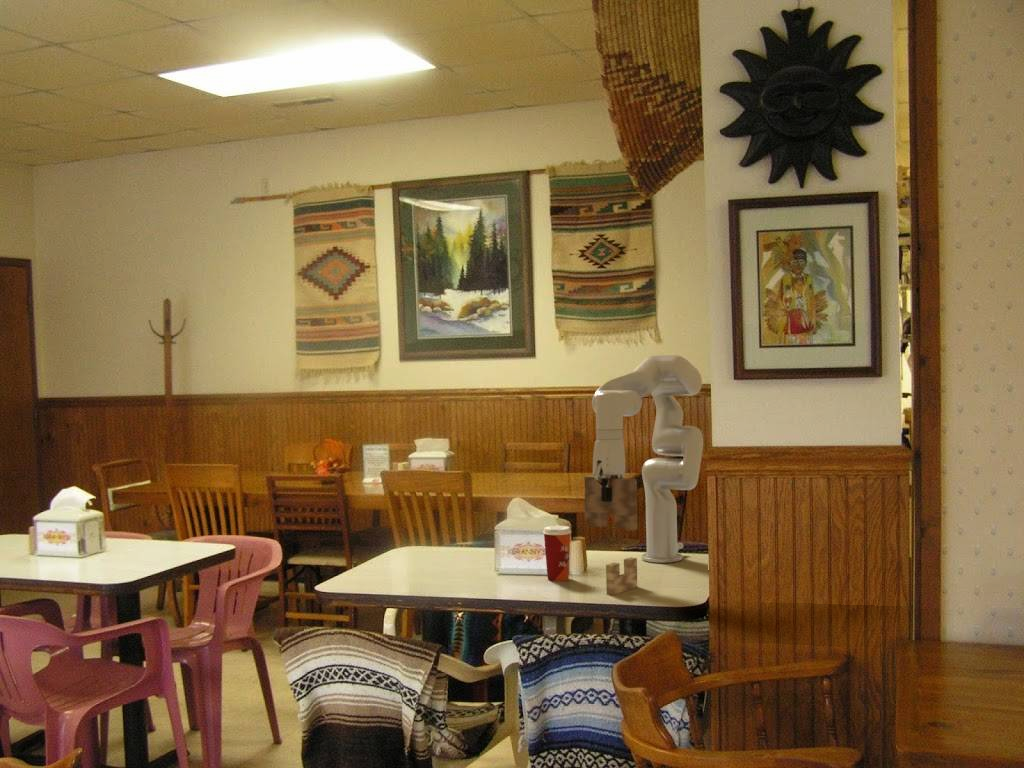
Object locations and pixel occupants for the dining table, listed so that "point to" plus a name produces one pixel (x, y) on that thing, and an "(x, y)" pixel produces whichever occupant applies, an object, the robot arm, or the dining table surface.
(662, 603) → the dining table surface
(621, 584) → the brown u-shaped block
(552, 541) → the coffee cup
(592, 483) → the walnut block
